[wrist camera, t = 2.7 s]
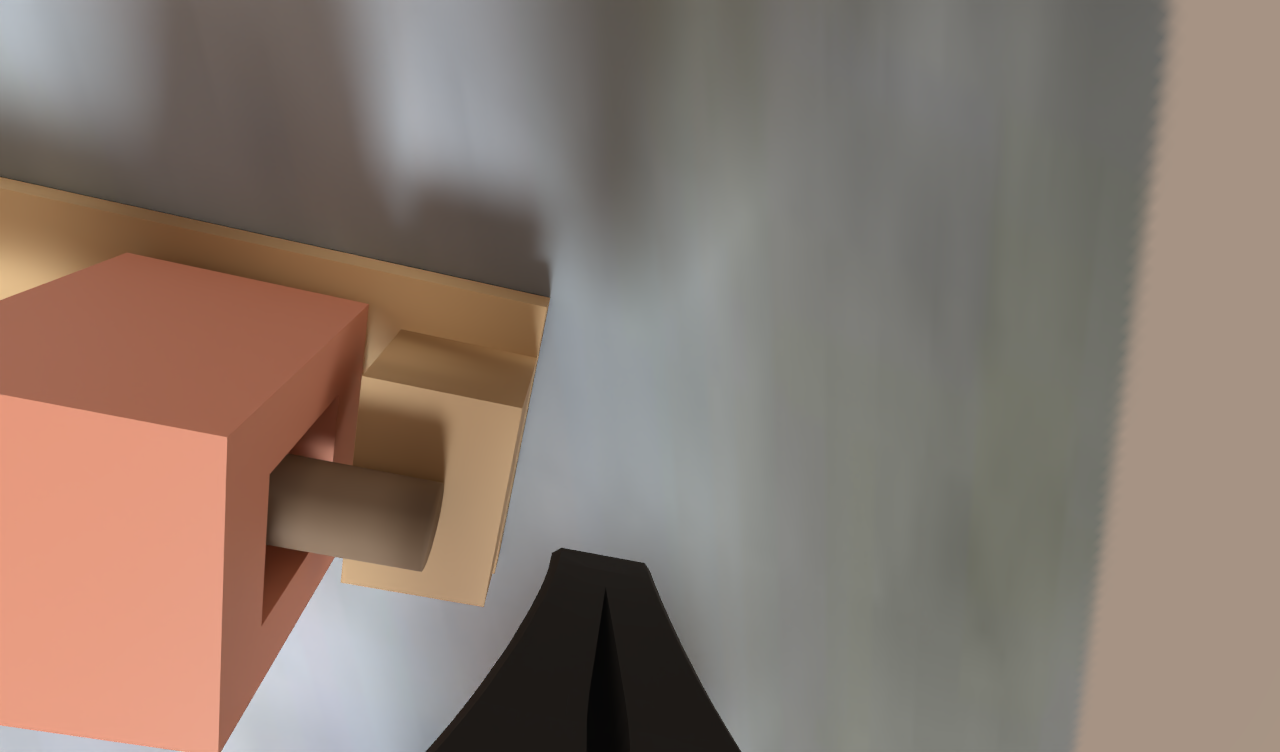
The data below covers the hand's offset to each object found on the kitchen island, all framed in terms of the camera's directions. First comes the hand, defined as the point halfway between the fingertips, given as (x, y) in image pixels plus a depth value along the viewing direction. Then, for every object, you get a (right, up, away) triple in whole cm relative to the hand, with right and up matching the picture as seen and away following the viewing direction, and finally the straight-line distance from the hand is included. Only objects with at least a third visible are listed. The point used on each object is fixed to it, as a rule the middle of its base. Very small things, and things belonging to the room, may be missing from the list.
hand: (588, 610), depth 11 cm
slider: (-6, +3, +3) cm, 8 cm away
